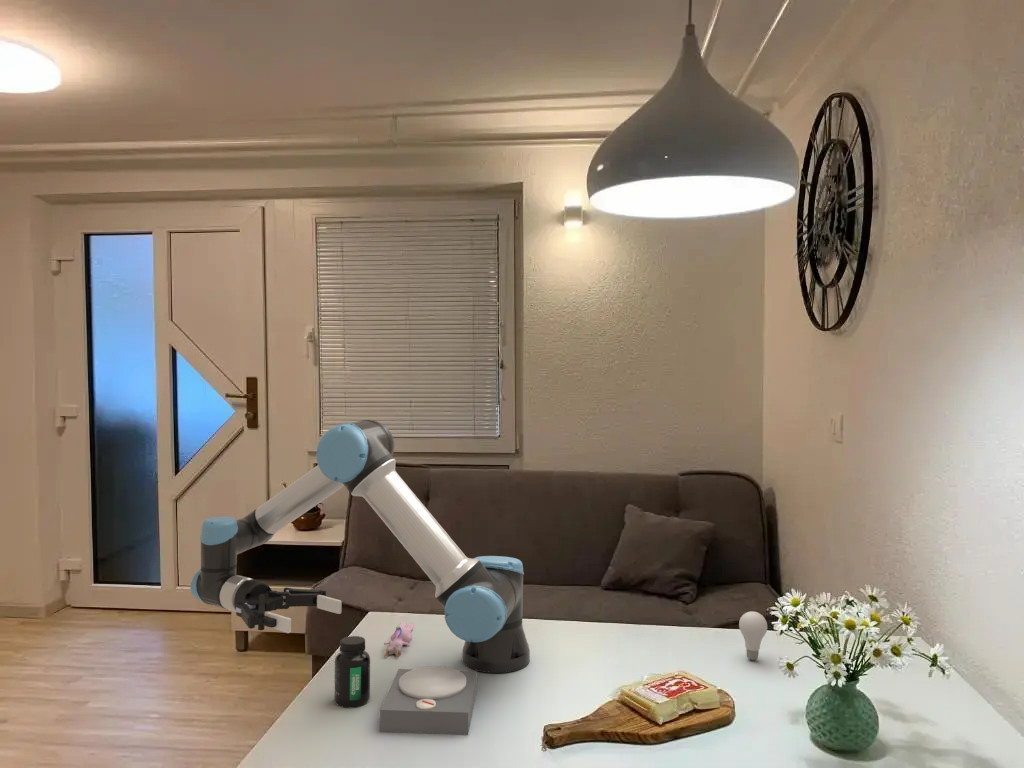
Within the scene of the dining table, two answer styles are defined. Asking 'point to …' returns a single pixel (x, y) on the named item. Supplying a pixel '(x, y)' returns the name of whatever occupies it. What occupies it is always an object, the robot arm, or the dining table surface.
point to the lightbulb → (752, 632)
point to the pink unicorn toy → (399, 639)
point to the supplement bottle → (352, 673)
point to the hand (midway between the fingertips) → (316, 616)
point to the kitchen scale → (429, 701)
